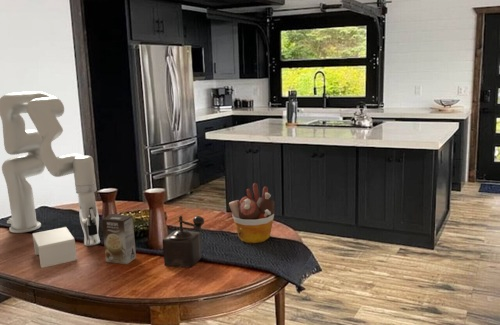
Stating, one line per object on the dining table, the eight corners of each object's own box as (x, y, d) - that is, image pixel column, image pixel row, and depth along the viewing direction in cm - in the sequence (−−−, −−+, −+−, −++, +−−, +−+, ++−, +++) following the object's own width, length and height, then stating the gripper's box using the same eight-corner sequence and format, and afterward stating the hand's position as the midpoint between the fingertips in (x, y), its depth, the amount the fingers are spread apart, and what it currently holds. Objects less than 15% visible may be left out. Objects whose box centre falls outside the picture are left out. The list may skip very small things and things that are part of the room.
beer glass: (95, 246, 188) (91, 209, 185) (79, 246, 189) (75, 209, 186) (104, 240, 195) (100, 204, 192) (88, 239, 196) (84, 203, 193)
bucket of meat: (271, 248, 179) (270, 196, 175) (228, 247, 182) (225, 195, 178) (278, 229, 198) (277, 182, 194) (238, 228, 201) (236, 182, 197)
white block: (35, 253, 184) (32, 233, 182) (68, 246, 189) (66, 226, 188) (41, 268, 170) (38, 246, 168) (77, 259, 176) (74, 238, 174)
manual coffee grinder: (162, 266, 167) (158, 216, 163) (176, 254, 177) (172, 206, 174) (204, 270, 163) (201, 218, 159) (216, 257, 173) (213, 208, 169)
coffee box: (105, 262, 173) (100, 218, 170) (115, 255, 179) (111, 213, 175) (127, 264, 170) (123, 220, 167) (137, 257, 176) (133, 214, 172)
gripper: (71, 185, 193) (76, 228, 197) (80, 194, 178) (86, 240, 182) (90, 182, 197) (95, 224, 200) (101, 190, 182) (106, 236, 186)
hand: (90, 231), depth 191 cm, fingers closed on beer glass, 6 cm apart
